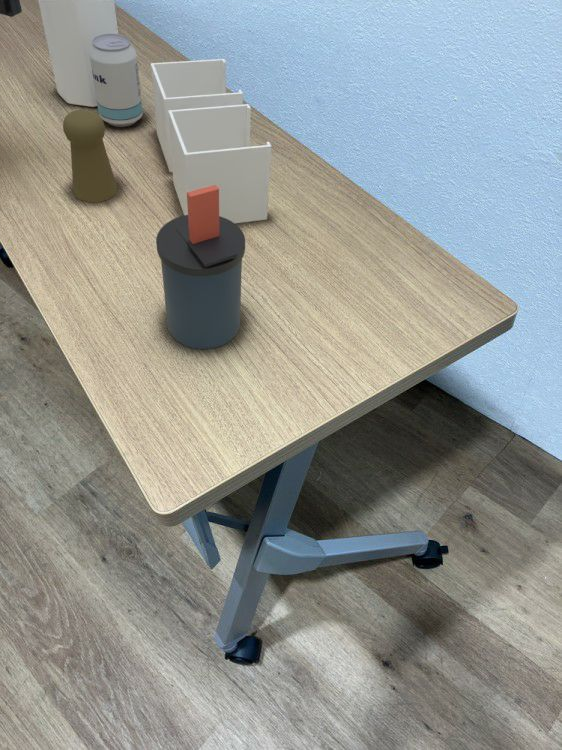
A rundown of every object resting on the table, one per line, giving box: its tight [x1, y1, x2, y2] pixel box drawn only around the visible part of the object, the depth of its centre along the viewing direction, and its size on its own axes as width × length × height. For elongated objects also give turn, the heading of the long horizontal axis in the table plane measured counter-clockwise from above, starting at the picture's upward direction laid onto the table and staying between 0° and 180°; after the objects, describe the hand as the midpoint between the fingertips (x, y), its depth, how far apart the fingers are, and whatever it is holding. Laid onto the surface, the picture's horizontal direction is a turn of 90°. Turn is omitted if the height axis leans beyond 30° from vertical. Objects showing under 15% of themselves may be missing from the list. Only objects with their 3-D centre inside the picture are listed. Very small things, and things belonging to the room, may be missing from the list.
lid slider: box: [187, 185, 237, 267], centre depth 59 cm, size 4×4×6 cm
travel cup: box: [155, 214, 246, 350], centre depth 67 cm, size 9×9×12 cm
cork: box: [62, 109, 118, 203], centre depth 83 cm, size 6×6×11 cm
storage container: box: [150, 58, 273, 224], centre depth 87 cm, size 25×11×11 cm, turn 17°
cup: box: [37, 0, 119, 108], centre depth 98 cm, size 11×11×18 cm
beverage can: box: [89, 33, 144, 128], centre depth 95 cm, size 7×7×12 cm
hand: (16, 5), depth 70 cm, fingers closed
